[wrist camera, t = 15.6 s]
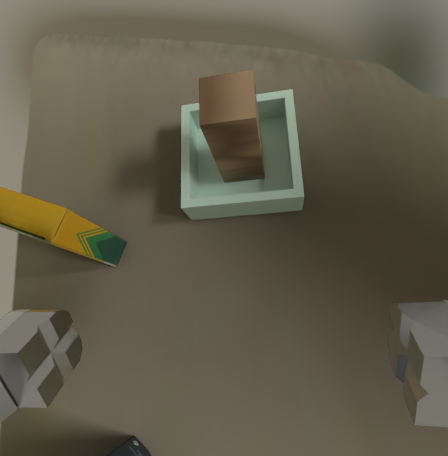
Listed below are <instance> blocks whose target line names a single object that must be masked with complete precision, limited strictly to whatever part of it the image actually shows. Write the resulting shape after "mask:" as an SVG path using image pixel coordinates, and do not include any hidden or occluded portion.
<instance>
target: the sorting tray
mask: <svg viewBox="0 0 448 456" xmlns="http://www.w3.org/2000/svg"><path fill="white" fill-rule="evenodd" d="M256 98H257V106H258V114H259V122H260V130H261V138H262V148H263V161H264V175H265V179H256V180H247V181H237V182H228V183H224V181H223V178H222V176H221V174H220V172H219V169H218V167H217V165H216V162H215V160H214V158H213V155H212V153H211V151H210V148H209V146H208V144H207V141H206V139H205V137H204V135H203V132H202V130H201V128H200V125H199V103H195V104H188V105H182V109H181V209H182V210H183V211H184V212H185V213H186V214H187V215H188V216H189V218H190V219H191V220H199V219H210V218H222V217H233V216H245V215H256V214H267V213H279V212H290V211H302V209H303V202H304V189H303V179H302V170H301V161H300V152H299V143H298V134H297V125H296V116H295V107H294V98H293V89H291V90H284V91H277V92H270V93H263V94H256Z"/></svg>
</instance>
